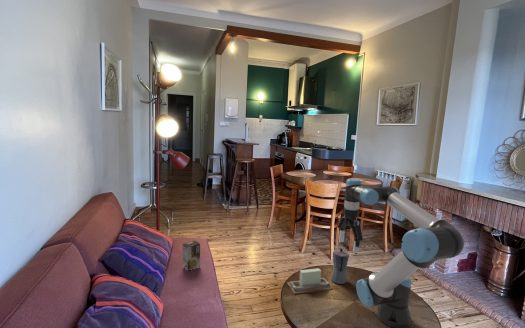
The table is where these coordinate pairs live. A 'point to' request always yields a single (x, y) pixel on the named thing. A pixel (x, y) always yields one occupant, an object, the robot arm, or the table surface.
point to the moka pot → (339, 266)
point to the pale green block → (310, 277)
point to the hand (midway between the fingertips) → (348, 246)
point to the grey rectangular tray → (309, 287)
